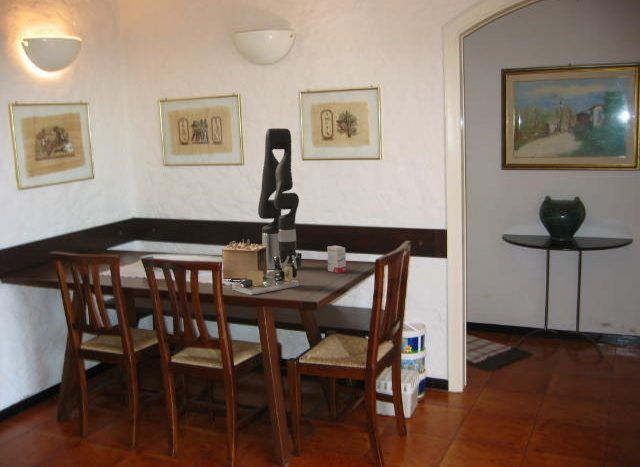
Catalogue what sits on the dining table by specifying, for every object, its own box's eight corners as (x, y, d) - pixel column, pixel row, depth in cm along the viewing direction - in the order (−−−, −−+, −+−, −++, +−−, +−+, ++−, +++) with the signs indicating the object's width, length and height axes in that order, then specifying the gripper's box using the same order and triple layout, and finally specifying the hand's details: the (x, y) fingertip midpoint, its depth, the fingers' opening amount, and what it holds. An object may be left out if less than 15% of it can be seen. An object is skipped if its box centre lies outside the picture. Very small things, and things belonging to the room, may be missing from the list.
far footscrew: (272, 278, 319) (272, 265, 318) (282, 277, 322) (281, 263, 322) (286, 282, 312) (285, 268, 311) (295, 280, 315) (295, 266, 315)
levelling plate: (231, 289, 310) (231, 278, 310) (278, 280, 326) (278, 270, 326) (251, 294, 299) (251, 283, 299) (299, 285, 315) (298, 275, 315)
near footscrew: (240, 286, 305) (239, 272, 304) (241, 283, 310) (241, 270, 309) (262, 286, 305) (262, 272, 304) (263, 283, 310) (263, 269, 309)
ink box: (346, 272, 343) (346, 247, 341) (337, 273, 340) (337, 248, 339) (336, 269, 350) (335, 245, 349) (327, 270, 348) (326, 246, 346)
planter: (222, 287, 315) (221, 244, 313) (213, 276, 339) (213, 236, 336) (278, 284, 322) (279, 242, 320) (266, 274, 346) (266, 234, 343)
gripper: (295, 236, 320) (295, 274, 322) (268, 240, 311) (269, 279, 313) (305, 238, 314) (306, 277, 317) (279, 242, 305) (280, 282, 308)
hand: (288, 278), depth 315 cm, fingers open, 5 cm apart
